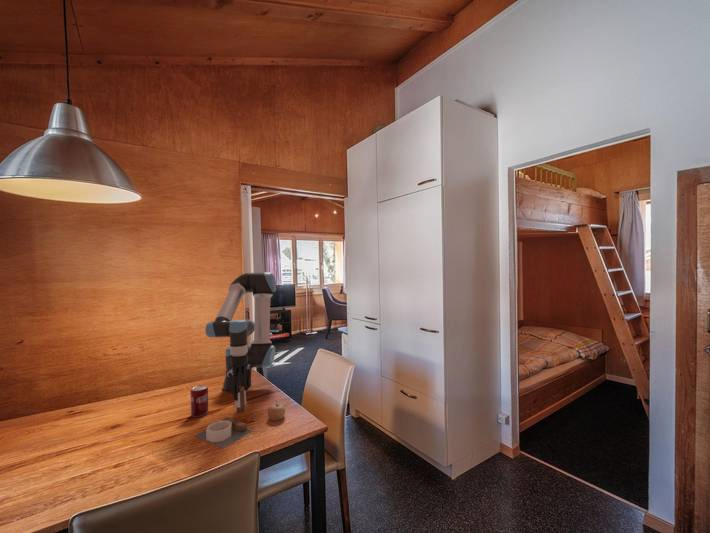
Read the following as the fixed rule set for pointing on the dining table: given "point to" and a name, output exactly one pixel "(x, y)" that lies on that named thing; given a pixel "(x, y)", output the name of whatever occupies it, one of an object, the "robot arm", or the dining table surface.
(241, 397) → the brown wooden bar
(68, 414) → the dining table surface
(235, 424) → the bar
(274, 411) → the fruit
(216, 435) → the white octagonal bowl
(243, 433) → the slate board
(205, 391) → the soda can
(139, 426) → the dining table surface
